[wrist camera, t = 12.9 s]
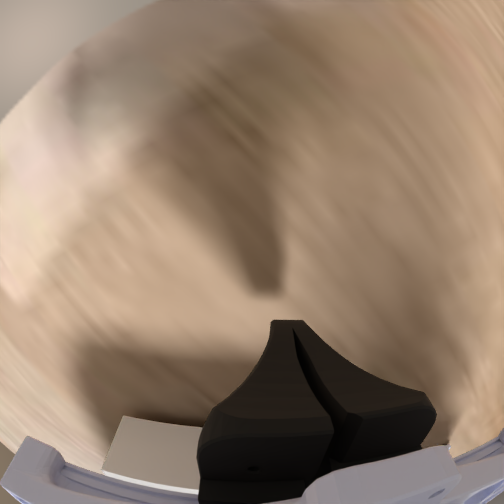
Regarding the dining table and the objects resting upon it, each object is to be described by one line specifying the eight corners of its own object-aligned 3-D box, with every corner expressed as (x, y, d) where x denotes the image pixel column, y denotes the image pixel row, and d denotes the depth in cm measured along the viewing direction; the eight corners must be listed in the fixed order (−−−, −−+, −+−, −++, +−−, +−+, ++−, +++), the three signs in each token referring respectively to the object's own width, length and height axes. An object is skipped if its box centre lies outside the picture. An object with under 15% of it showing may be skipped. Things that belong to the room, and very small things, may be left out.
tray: (350, 423, 15) (369, 480, 11) (310, 501, 19) (316, 538, 15) (123, 414, 15) (101, 469, 10) (159, 495, 19) (152, 532, 14)
